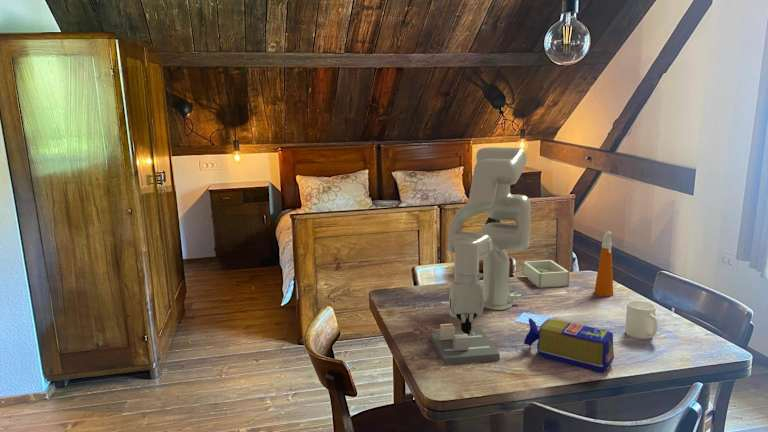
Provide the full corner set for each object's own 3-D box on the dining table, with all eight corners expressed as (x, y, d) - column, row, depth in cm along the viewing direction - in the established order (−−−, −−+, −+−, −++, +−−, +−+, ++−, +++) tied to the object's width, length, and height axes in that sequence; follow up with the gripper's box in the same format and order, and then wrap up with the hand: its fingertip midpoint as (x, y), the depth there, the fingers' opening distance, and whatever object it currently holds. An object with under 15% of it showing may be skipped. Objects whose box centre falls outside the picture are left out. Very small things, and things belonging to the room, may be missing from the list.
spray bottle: (597, 299, 206) (601, 232, 201) (592, 290, 216) (596, 226, 211) (616, 300, 204) (621, 233, 199) (611, 291, 215) (615, 227, 209)
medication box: (533, 277, 235) (533, 268, 234) (536, 275, 236) (537, 267, 236) (557, 283, 226) (557, 274, 225) (560, 282, 227) (561, 273, 226)
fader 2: (465, 345, 164) (466, 332, 163) (468, 349, 161) (468, 336, 160) (453, 346, 163) (453, 333, 162) (455, 350, 160) (455, 337, 159)
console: (481, 335, 176) (481, 329, 176) (499, 360, 159) (499, 353, 158) (430, 338, 174) (430, 332, 174) (443, 364, 157) (443, 358, 156)
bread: (606, 377, 148) (608, 342, 146) (520, 354, 162) (521, 322, 160) (615, 362, 156) (618, 329, 154) (533, 342, 170) (534, 311, 168)
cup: (641, 328, 179) (644, 299, 177) (667, 343, 167) (669, 312, 165) (619, 330, 177) (621, 301, 175) (643, 346, 166) (646, 315, 164)
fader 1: (452, 335, 171) (452, 322, 170) (454, 339, 168) (454, 326, 167) (440, 336, 171) (440, 323, 170) (442, 340, 168) (442, 327, 167)
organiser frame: (550, 272, 239) (550, 259, 238) (568, 285, 222) (569, 271, 221) (522, 274, 238) (522, 261, 237) (538, 287, 220) (539, 273, 219)
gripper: (486, 272, 171) (485, 326, 174) (440, 275, 169) (440, 329, 173) (493, 280, 163) (492, 336, 167) (445, 283, 162) (445, 339, 166)
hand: (466, 332), depth 170 cm, fingers closed
